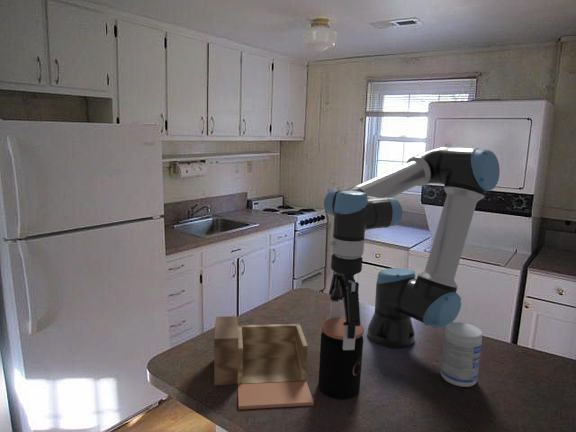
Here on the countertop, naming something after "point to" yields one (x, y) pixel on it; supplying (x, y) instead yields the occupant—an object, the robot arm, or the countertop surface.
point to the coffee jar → (339, 361)
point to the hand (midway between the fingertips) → (341, 336)
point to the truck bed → (258, 352)
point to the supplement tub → (461, 354)
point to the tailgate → (274, 395)
